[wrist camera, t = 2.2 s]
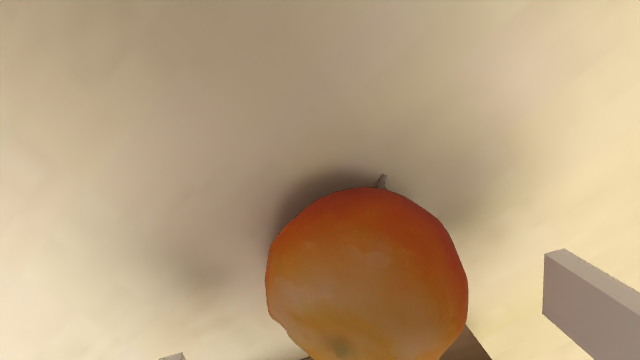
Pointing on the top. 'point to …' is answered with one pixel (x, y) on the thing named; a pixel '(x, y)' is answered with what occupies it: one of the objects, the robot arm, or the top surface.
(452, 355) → the open wooden box
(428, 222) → the fruit
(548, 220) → the top surface
